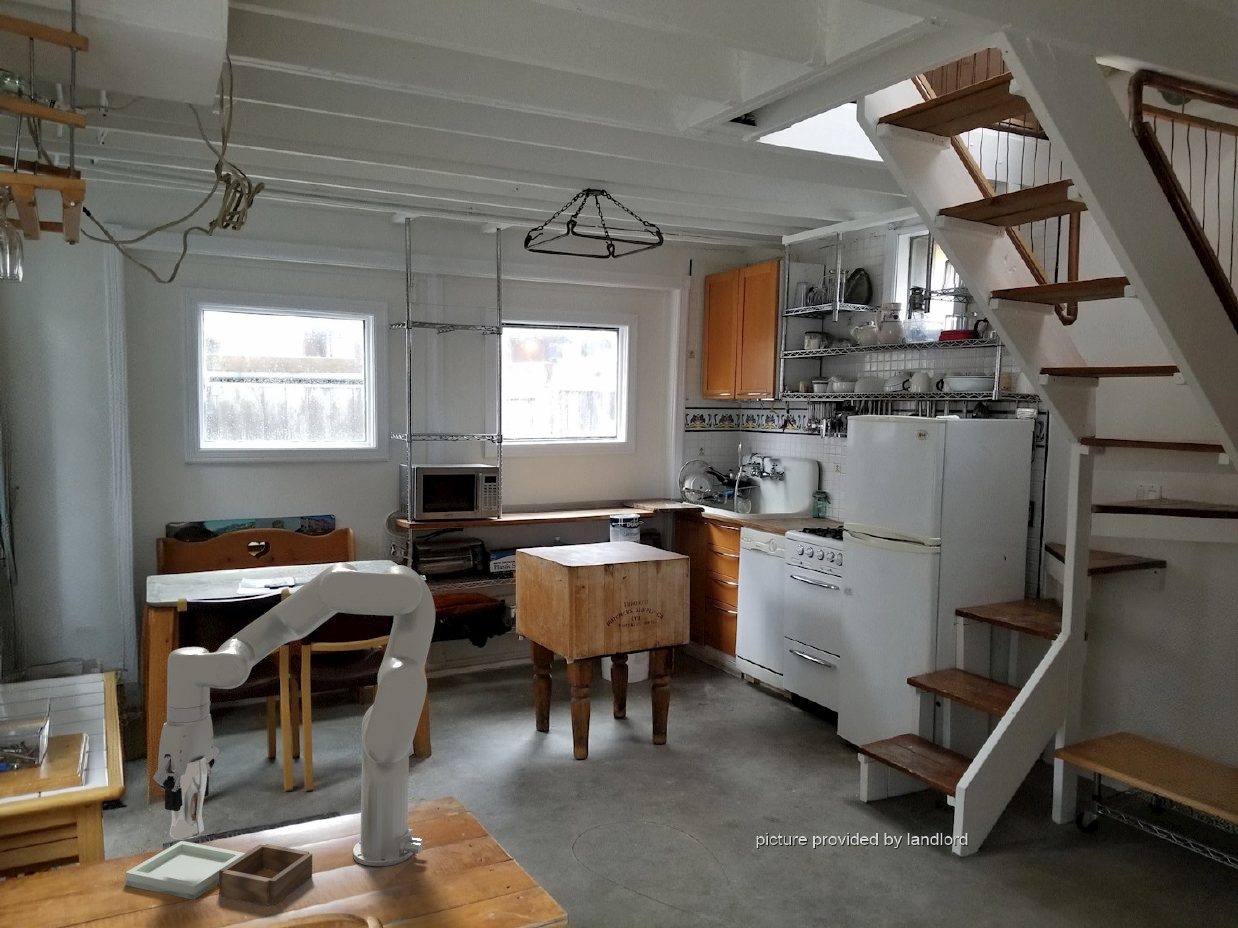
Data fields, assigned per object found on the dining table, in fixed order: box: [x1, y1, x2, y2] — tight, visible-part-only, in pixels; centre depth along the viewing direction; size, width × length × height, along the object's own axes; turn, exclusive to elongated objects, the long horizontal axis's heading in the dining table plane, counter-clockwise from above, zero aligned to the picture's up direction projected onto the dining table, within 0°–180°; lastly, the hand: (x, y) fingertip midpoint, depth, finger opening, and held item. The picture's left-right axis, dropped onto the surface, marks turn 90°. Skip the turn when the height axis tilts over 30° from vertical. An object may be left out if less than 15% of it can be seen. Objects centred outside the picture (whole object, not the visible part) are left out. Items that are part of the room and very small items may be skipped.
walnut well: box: [218, 843, 313, 906], centre depth 171 cm, size 12×12×4 cm
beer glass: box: [168, 755, 207, 840], centre depth 173 cm, size 7×7×15 cm
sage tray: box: [124, 840, 246, 901], centre depth 174 cm, size 16×14×2 cm
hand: (187, 801), depth 173 cm, fingers closed on beer glass, 6 cm apart
